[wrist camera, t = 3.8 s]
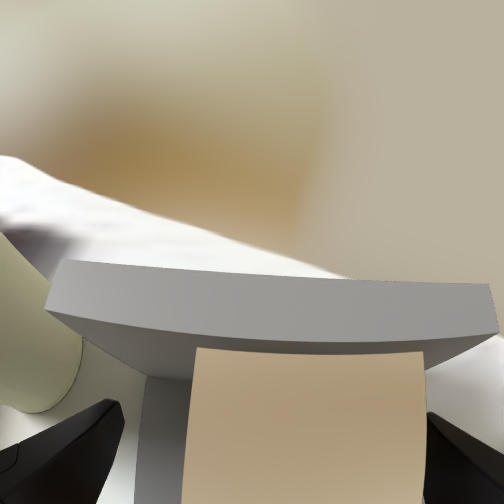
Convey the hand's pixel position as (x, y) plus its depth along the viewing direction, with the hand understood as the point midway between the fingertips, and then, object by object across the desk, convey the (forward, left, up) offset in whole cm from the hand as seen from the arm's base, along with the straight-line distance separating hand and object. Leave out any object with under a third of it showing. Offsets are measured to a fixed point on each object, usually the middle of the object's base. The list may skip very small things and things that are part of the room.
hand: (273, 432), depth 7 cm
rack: (-4, -3, -7) cm, 9 cm away
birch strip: (-1, -1, -6) cm, 6 cm away
